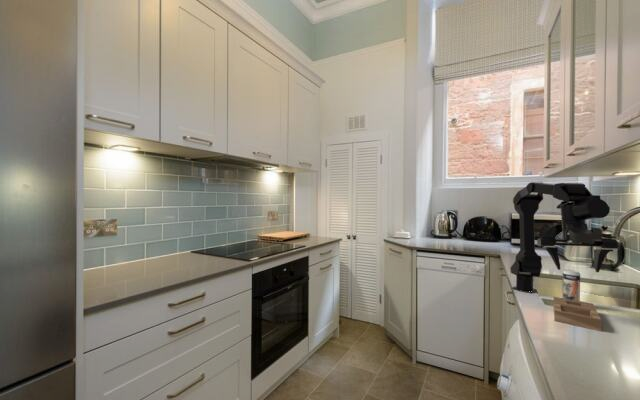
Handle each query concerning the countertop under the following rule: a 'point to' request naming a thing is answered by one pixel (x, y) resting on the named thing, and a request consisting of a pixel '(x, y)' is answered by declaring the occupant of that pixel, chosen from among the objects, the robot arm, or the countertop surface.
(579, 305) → the socket board
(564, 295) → the beer can
